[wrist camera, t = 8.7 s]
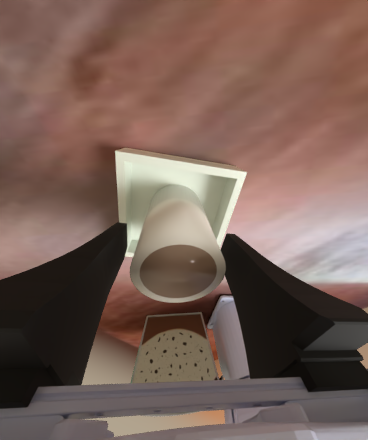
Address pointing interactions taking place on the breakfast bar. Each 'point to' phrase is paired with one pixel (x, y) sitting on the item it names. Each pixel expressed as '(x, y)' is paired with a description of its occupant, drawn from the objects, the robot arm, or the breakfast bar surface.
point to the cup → (176, 249)
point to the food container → (174, 351)
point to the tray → (173, 175)
